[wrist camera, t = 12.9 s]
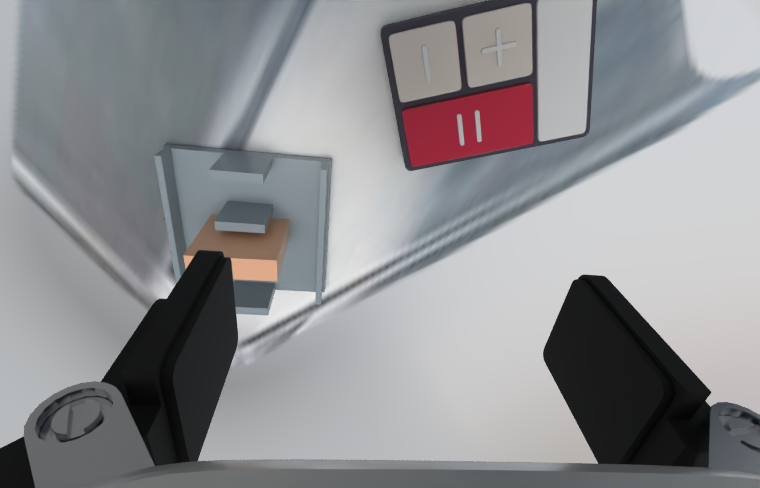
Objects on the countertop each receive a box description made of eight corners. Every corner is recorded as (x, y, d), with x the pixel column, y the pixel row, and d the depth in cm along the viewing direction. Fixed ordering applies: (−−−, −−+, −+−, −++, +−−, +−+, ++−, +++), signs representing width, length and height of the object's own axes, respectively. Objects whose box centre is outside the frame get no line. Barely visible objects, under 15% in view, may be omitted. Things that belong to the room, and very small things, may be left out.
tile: (211, 214, 37) (183, 255, 31) (289, 219, 38) (276, 260, 32) (213, 233, 38) (186, 276, 32) (289, 238, 39) (277, 281, 33)
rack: (166, 143, 35) (139, 164, 30) (331, 158, 36) (328, 179, 32) (187, 278, 42) (167, 310, 37) (325, 286, 43) (321, 318, 39)
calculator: (379, 29, 28) (604, -24, 27) (379, 25, 32) (577, -22, 30) (406, 175, 34) (594, 139, 32) (404, 158, 37) (572, 124, 36)
